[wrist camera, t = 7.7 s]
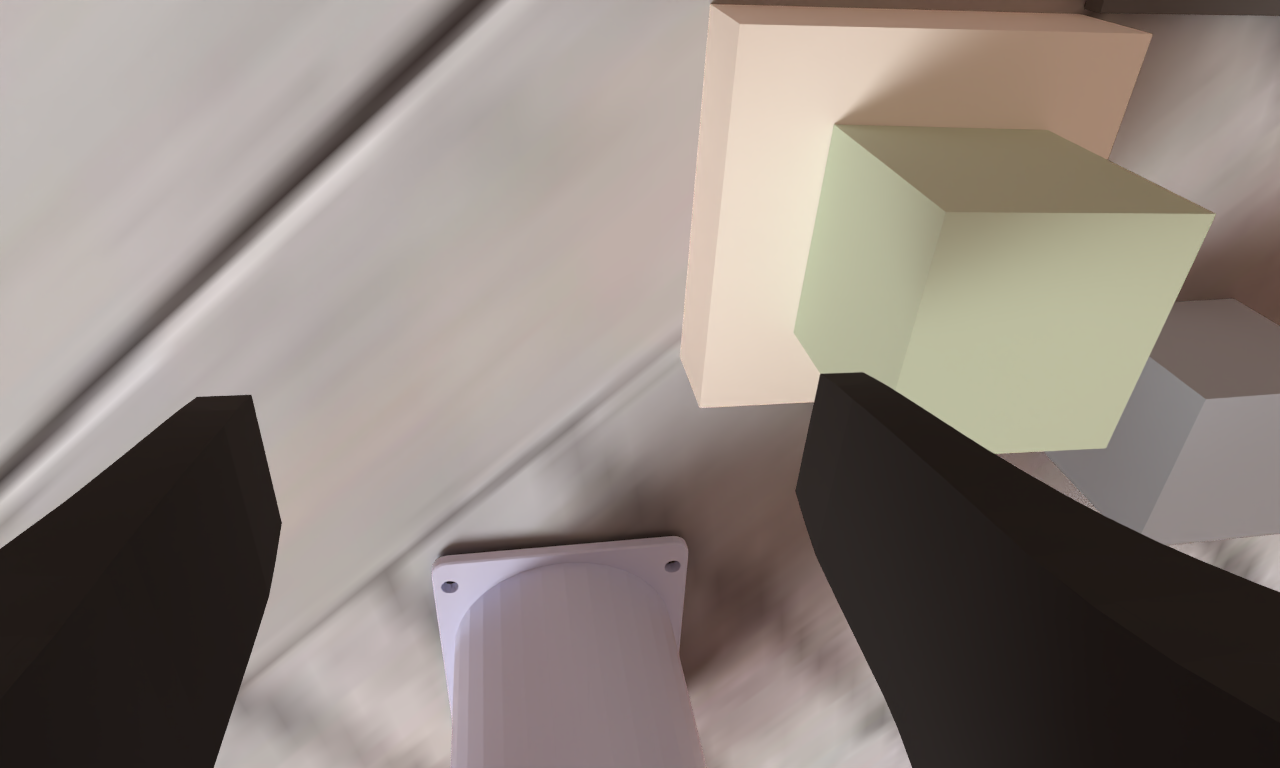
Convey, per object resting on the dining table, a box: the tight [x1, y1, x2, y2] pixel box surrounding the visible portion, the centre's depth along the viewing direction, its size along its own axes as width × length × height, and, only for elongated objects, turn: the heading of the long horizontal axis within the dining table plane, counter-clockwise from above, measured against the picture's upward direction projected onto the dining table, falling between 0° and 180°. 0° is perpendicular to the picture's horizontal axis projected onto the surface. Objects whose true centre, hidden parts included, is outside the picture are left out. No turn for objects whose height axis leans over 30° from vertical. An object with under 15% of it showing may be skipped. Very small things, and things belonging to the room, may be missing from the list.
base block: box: [680, 4, 1153, 408], centre depth 20 cm, size 9×9×3 cm
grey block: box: [1043, 298, 1280, 545], centre depth 24 cm, size 5×5×5 cm
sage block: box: [793, 124, 1216, 454], centre depth 17 cm, size 5×5×5 cm
